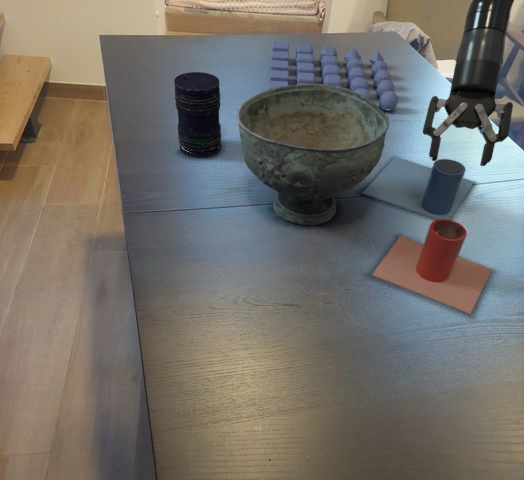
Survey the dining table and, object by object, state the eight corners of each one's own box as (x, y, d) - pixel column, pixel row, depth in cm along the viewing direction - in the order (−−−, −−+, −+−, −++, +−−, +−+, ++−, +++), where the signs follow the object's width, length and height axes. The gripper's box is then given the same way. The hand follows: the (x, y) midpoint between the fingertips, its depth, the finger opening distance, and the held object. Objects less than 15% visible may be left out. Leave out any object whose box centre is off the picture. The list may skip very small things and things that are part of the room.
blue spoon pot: (454, 204, 108) (469, 164, 101) (445, 218, 104) (460, 177, 97) (426, 195, 110) (439, 155, 103) (416, 208, 106) (429, 168, 99)
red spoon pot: (454, 268, 93) (471, 226, 87) (443, 287, 90) (461, 244, 83) (422, 256, 95) (436, 214, 89) (410, 274, 92) (424, 231, 85)
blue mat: (473, 183, 115) (474, 181, 114) (447, 223, 103) (448, 222, 103) (395, 158, 121) (395, 156, 120) (362, 194, 110) (362, 192, 109)
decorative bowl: (392, 200, 107) (412, 103, 92) (333, 264, 93) (346, 162, 78) (286, 165, 117) (289, 72, 102) (218, 218, 103) (210, 119, 88)
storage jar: (228, 144, 122) (228, 77, 110) (208, 162, 116) (206, 94, 104) (192, 134, 124) (188, 68, 113) (171, 151, 118) (164, 83, 107)
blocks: (271, 58, 159) (272, 41, 156) (381, 65, 160) (385, 48, 156) (268, 107, 136) (269, 87, 132) (396, 115, 136) (401, 95, 133)
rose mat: (491, 270, 94) (492, 269, 94) (469, 315, 86) (470, 313, 86) (400, 237, 100) (400, 235, 99) (371, 275, 92) (372, 274, 91)
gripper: (514, 76, 91) (494, 170, 94) (433, 70, 93) (415, 162, 96) (528, 60, 84) (505, 163, 87) (439, 53, 86) (420, 154, 89)
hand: (458, 162), depth 92 cm, fingers open, 8 cm apart
